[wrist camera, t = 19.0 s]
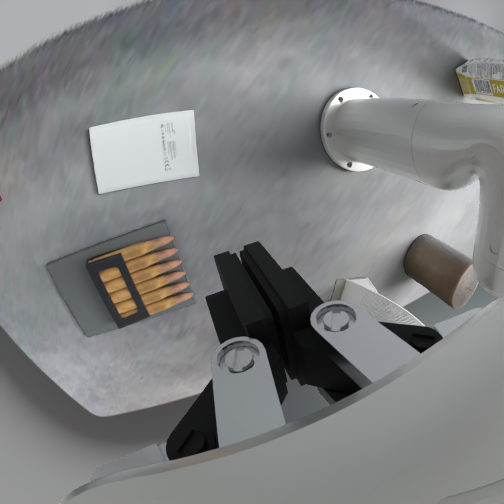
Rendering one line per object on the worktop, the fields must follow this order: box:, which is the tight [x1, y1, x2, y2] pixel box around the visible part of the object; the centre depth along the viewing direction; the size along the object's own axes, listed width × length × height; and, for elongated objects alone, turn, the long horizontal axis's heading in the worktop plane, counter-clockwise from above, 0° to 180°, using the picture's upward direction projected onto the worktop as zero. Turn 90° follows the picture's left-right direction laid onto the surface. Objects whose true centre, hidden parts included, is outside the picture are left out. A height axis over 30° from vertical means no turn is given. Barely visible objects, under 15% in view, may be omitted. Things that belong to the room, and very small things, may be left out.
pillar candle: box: [404, 234, 478, 309], centre depth 48 cm, size 10×10×15 cm
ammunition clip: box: [86, 236, 194, 329], centre depth 37 cm, size 11×2×12 cm
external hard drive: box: [89, 110, 199, 194], centre depth 32 cm, size 2×8×12 cm
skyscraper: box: [331, 277, 426, 327], centre depth 40 cm, size 8×8×28 cm
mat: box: [46, 220, 195, 337], centre depth 37 cm, size 18×13×1 cm
